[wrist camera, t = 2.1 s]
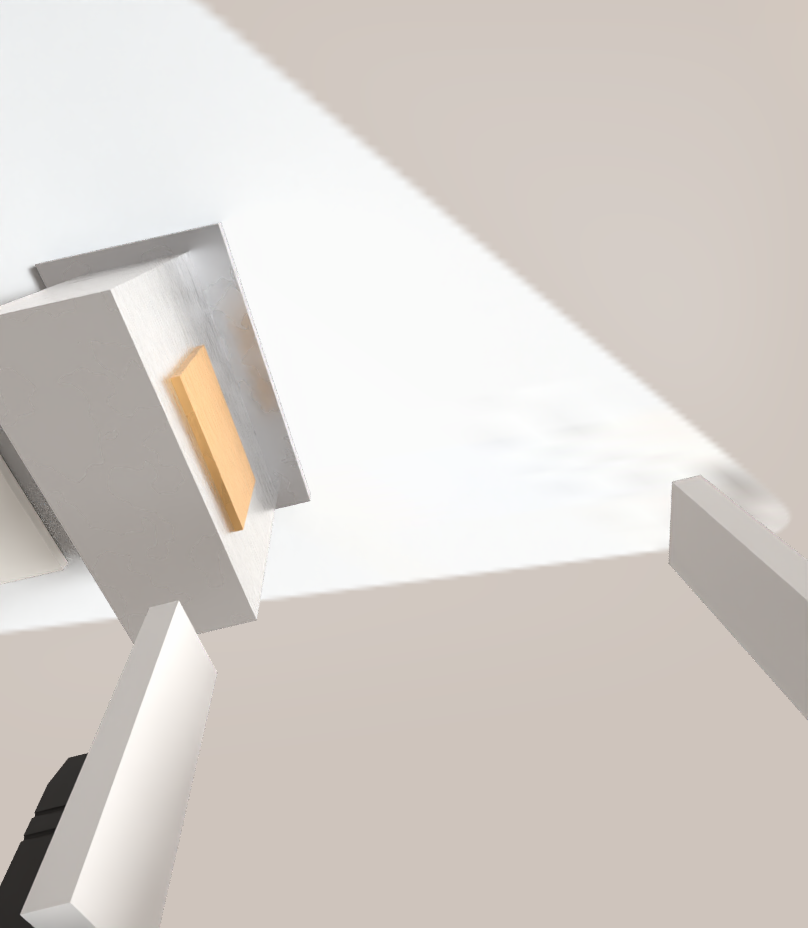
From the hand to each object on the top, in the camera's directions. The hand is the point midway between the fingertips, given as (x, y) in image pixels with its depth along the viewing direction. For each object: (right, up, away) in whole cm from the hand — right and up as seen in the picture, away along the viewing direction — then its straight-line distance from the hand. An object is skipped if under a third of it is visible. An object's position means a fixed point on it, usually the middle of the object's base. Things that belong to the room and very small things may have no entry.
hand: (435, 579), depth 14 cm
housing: (-14, +8, +20) cm, 25 cm away
